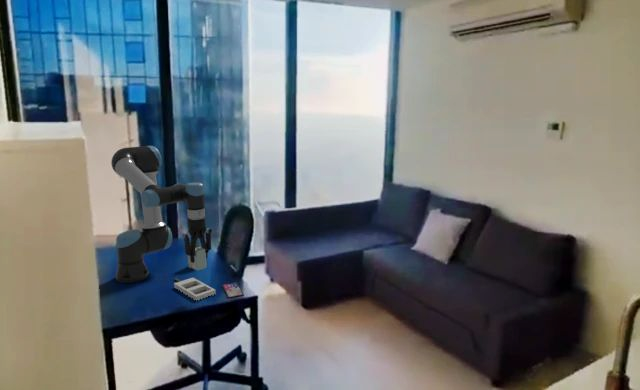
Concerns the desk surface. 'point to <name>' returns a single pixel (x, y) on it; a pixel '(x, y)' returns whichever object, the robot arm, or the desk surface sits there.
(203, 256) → the block
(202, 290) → the white compartment tray
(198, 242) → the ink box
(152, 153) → the robot arm
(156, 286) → the desk surface
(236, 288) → the smartphone
